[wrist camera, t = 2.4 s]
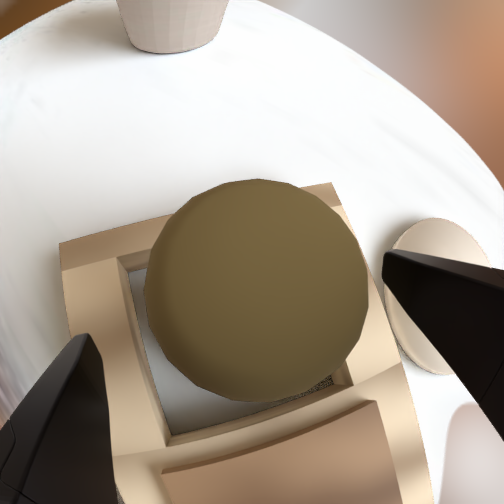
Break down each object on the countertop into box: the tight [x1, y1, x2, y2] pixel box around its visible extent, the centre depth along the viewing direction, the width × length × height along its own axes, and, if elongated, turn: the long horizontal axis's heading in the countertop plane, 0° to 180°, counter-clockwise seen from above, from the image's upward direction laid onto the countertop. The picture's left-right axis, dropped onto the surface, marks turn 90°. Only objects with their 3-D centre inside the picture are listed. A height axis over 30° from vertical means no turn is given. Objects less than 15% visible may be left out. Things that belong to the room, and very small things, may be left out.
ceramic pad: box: [384, 218, 492, 375], centre depth 18 cm, size 11×11×1 cm
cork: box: [144, 179, 369, 402], centre depth 11 cm, size 6×6×11 cm
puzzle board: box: [59, 182, 434, 504], centre depth 13 cm, size 22×15×3 cm
